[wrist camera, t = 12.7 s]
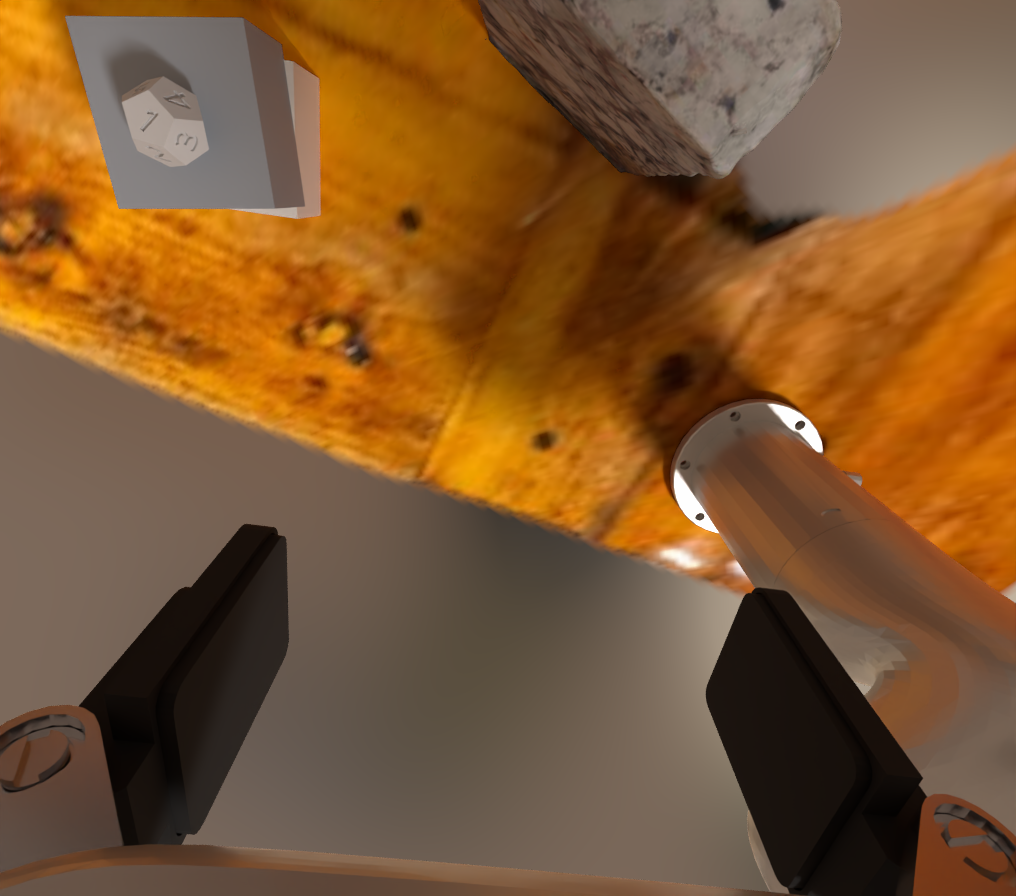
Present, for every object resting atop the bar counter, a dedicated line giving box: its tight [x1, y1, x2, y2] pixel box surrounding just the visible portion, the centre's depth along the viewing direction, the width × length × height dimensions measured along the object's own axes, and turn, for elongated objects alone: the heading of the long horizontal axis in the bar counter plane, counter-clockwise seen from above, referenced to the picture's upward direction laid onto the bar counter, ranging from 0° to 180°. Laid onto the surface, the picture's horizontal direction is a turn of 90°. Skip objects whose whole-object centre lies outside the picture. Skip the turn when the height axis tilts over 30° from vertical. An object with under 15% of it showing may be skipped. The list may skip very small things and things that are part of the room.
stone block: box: [478, 0, 842, 179], centre depth 25 cm, size 13×7×20 cm, turn 55°
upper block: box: [65, 16, 305, 209], centre depth 29 cm, size 8×8×5 cm
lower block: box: [234, 60, 320, 219], centre depth 33 cm, size 8×8×5 cm
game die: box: [122, 76, 209, 167], centre depth 25 cm, size 4×4×3 cm
